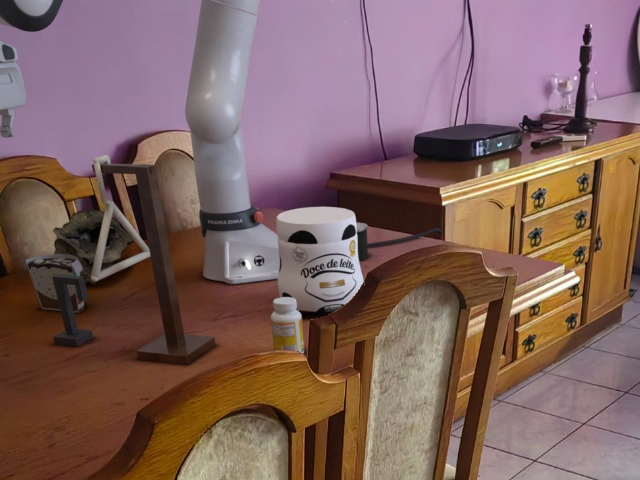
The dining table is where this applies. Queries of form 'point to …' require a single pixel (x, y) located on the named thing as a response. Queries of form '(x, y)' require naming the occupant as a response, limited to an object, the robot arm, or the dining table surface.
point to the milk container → (318, 258)
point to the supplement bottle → (287, 325)
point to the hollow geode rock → (90, 241)
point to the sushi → (362, 241)
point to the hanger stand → (174, 341)
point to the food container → (43, 281)
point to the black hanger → (70, 310)
